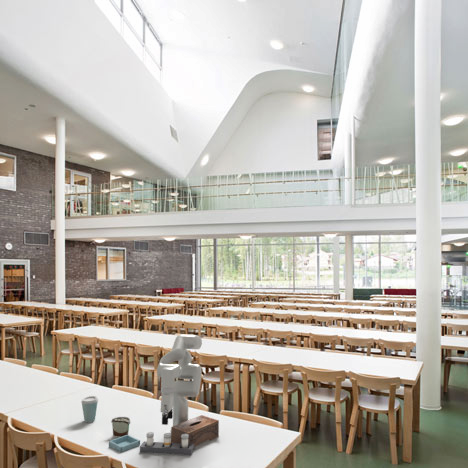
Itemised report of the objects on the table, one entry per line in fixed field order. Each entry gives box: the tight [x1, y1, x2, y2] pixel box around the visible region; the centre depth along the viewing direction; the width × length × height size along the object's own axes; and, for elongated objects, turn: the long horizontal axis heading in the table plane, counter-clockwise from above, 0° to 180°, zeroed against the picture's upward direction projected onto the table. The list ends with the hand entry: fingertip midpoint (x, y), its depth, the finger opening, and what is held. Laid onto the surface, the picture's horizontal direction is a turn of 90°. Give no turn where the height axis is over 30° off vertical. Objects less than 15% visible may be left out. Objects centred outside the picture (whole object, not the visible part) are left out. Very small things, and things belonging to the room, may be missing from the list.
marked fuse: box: [163, 432, 171, 448], centre depth 237 cm, size 4×4×9 cm
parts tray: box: [108, 434, 141, 453], centre depth 244 cm, size 13×13×4 cm
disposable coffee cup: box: [81, 395, 99, 423], centre depth 285 cm, size 11×11×15 cm
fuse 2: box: [181, 434, 189, 448], centre depth 235 cm, size 4×4×9 cm
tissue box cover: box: [170, 415, 220, 447], centre depth 253 cm, size 26×14×10 cm, turn 141°
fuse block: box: [139, 441, 195, 456], centre depth 236 cm, size 29×7×4 cm, turn 83°
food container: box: [111, 416, 131, 438], centre depth 261 cm, size 12×6×10 cm, turn 74°
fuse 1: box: [146, 431, 155, 447], centre depth 238 cm, size 4×4×9 cm
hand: (167, 421), depth 237 cm, fingers open, 9 cm apart
